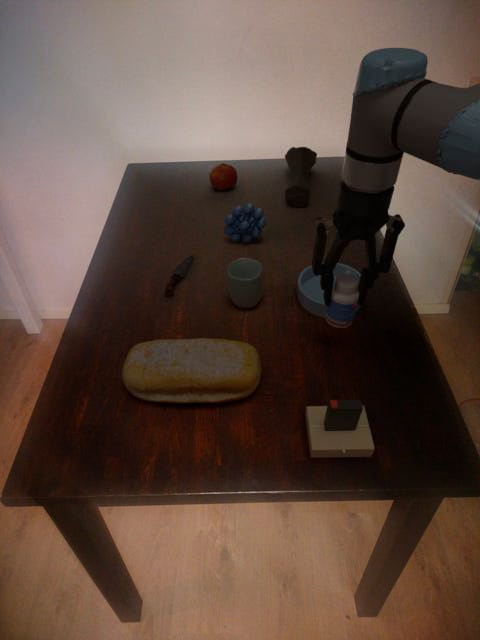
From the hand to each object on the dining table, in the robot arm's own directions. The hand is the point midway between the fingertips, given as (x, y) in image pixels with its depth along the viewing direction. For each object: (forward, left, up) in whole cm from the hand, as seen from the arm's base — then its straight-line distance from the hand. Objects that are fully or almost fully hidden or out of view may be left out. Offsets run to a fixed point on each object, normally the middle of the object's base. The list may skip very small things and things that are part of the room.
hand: (343, 300), depth 71 cm
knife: (+43, +2, -13) cm, 45 cm away
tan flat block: (-10, +18, -13) cm, 24 cm away
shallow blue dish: (+8, -13, -13) cm, 20 cm away
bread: (+18, +24, -13) cm, 33 cm away
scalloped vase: (+42, -55, -13) cm, 70 cm away
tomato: (+63, -41, -13) cm, 76 cm away
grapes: (+38, -20, -13) cm, 45 cm away
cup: (+23, 0, -13) cm, 26 cm away
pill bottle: (0, 0, -5) cm, 5 cm away
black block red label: (-10, +18, -10) cm, 23 cm away
